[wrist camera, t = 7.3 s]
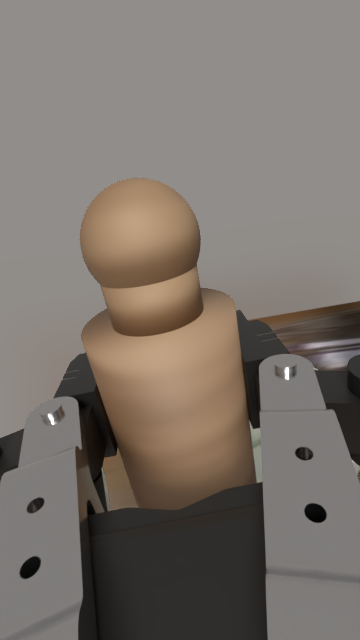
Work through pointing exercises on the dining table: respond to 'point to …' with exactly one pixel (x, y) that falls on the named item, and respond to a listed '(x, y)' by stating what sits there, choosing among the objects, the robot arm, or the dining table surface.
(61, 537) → the robot arm
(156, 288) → the pepper mill
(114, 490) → the dining table surface
